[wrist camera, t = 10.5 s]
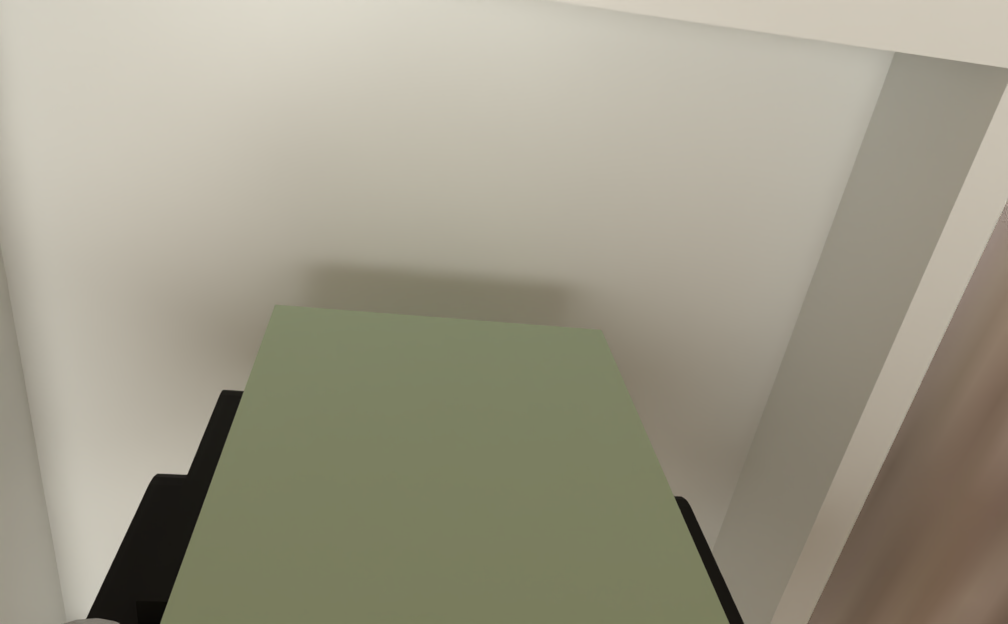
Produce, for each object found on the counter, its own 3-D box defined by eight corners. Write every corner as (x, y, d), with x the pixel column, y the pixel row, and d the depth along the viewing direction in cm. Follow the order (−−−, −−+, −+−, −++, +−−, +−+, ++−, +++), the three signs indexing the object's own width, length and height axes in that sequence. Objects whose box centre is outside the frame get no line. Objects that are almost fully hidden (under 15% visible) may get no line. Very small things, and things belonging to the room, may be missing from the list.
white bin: (933, -12, 13) (1095, 13, 10) (693, 630, 20) (743, 759, 17) (-105, -182, 10) (-323, -218, 7) (49, 621, 18) (-29, 771, 15)
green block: (601, 329, 12) (746, 664, 7) (548, 560, 14) (625, 945, 9) (275, 304, 11) (147, 659, 6) (274, 552, 13) (182, 968, 8)
